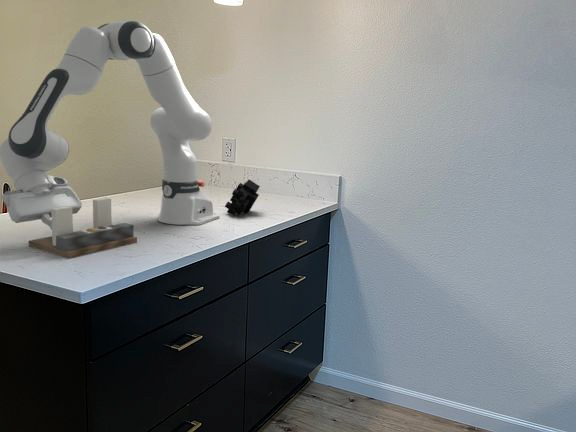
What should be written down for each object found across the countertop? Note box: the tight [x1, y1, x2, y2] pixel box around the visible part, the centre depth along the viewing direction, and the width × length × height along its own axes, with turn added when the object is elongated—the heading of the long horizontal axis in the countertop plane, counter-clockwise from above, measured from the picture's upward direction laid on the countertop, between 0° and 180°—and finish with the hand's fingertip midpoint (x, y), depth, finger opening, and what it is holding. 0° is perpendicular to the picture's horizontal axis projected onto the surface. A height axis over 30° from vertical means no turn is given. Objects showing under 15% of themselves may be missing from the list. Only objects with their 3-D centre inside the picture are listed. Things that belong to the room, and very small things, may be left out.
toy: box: [224, 179, 261, 217], centre depth 214 cm, size 12×8×15 cm
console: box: [27, 222, 138, 259], centre depth 163 cm, size 23×18×6 cm
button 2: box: [92, 197, 113, 228], centre depth 170 cm, size 5×2×10 cm, turn 147°
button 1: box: [51, 206, 74, 246], centre depth 155 cm, size 5×2×10 cm, turn 147°
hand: (58, 228), depth 156 cm, fingers closed, pressing on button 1
